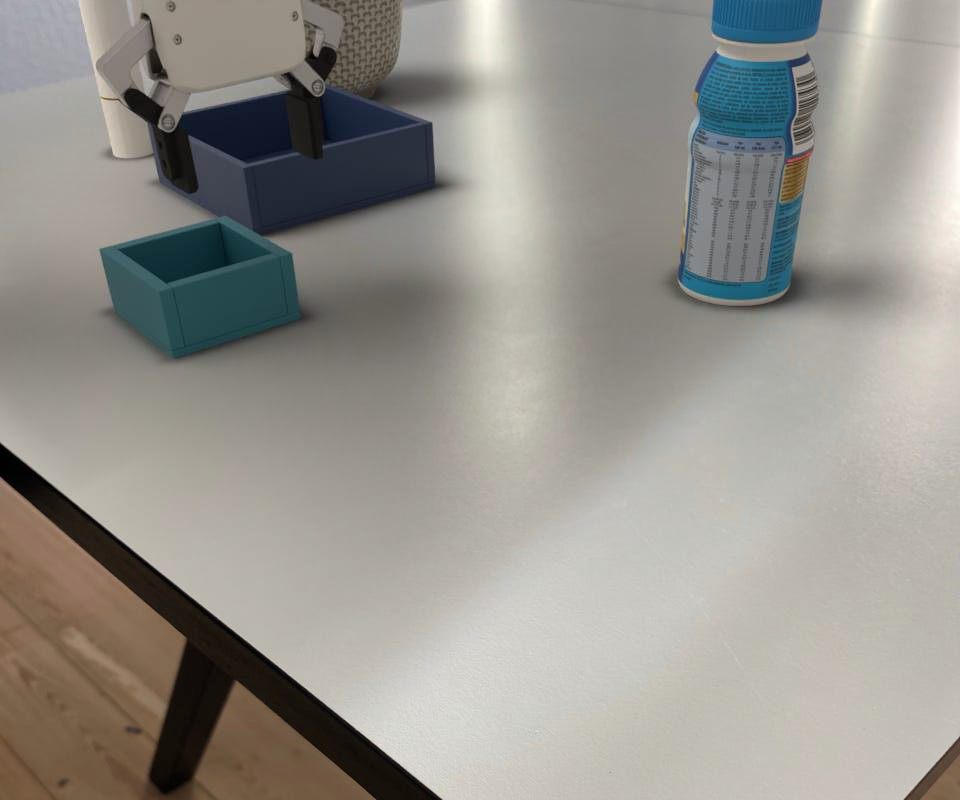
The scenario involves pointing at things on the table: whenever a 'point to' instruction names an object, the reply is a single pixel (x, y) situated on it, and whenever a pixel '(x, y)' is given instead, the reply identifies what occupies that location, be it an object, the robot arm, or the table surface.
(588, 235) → the table surface
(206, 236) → the teal bin
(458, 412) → the table surface
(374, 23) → the planter
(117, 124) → the tube
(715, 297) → the beverage bottle
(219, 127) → the navy bin
